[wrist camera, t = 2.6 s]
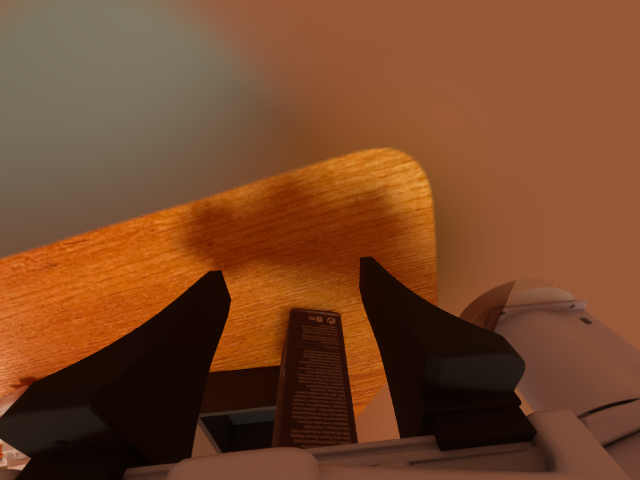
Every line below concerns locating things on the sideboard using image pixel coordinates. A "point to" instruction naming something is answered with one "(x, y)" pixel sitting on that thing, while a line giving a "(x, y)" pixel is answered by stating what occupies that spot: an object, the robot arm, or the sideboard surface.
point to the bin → (240, 409)
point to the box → (314, 385)
